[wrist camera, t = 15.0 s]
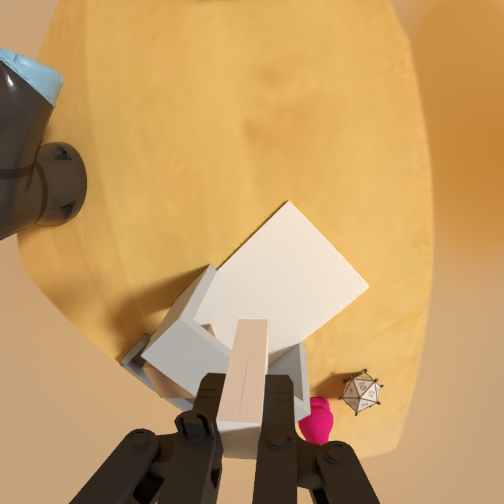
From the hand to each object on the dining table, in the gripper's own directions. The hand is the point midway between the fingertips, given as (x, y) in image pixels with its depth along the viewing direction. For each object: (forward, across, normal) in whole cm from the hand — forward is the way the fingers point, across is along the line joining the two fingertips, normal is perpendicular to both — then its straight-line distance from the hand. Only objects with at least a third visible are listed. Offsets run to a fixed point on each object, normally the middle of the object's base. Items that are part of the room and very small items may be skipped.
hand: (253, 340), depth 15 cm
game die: (+29, +18, -32) cm, 47 cm away
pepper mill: (+29, +10, -40) cm, 51 cm away
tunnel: (+29, 0, -13) cm, 32 cm away
